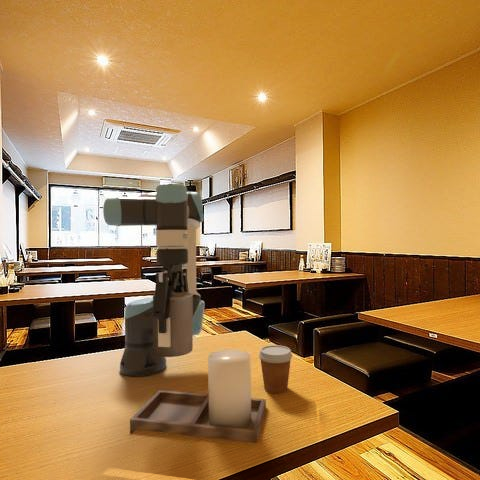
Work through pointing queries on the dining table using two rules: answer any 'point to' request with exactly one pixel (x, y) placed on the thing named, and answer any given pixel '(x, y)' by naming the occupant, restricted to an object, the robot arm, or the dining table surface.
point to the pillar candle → (177, 326)
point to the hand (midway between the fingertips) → (173, 339)
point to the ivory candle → (229, 388)
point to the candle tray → (192, 417)
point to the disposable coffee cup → (275, 368)
